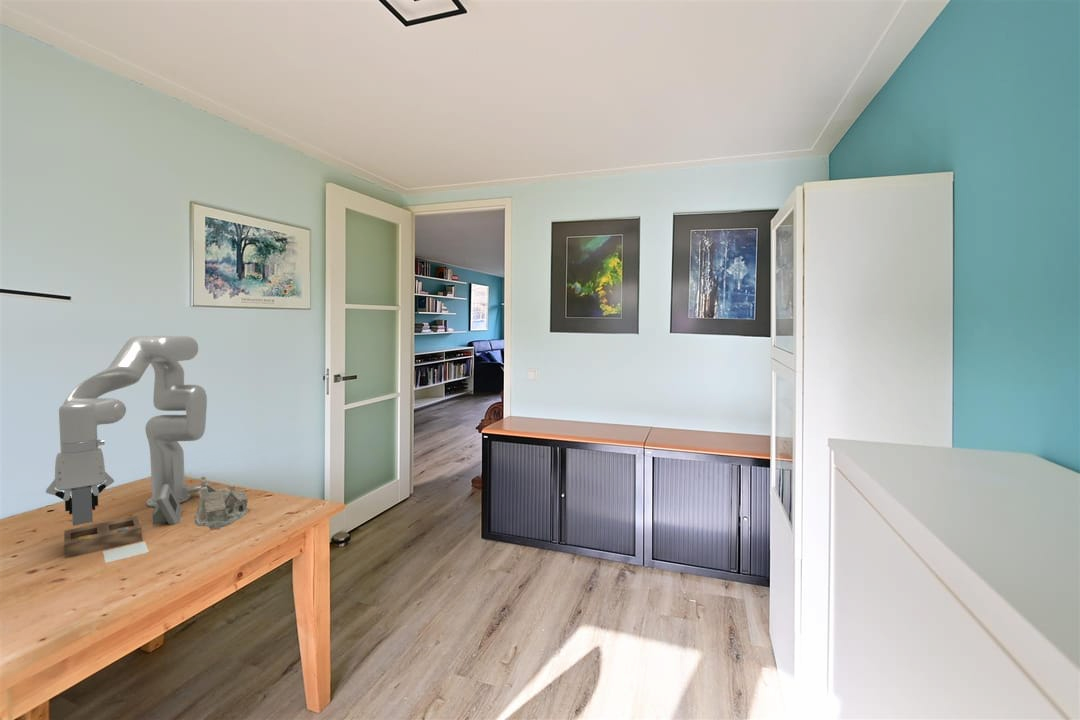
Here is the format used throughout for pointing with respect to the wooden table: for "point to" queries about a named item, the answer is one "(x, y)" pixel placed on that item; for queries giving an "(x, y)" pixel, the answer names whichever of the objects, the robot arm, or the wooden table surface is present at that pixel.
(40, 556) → the wooden table surface
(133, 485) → the wooden table surface
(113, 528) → the socket block
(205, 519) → the ceramic cottage
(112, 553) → the tray
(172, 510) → the digital clock
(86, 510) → the plug
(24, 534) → the wooden table surface
